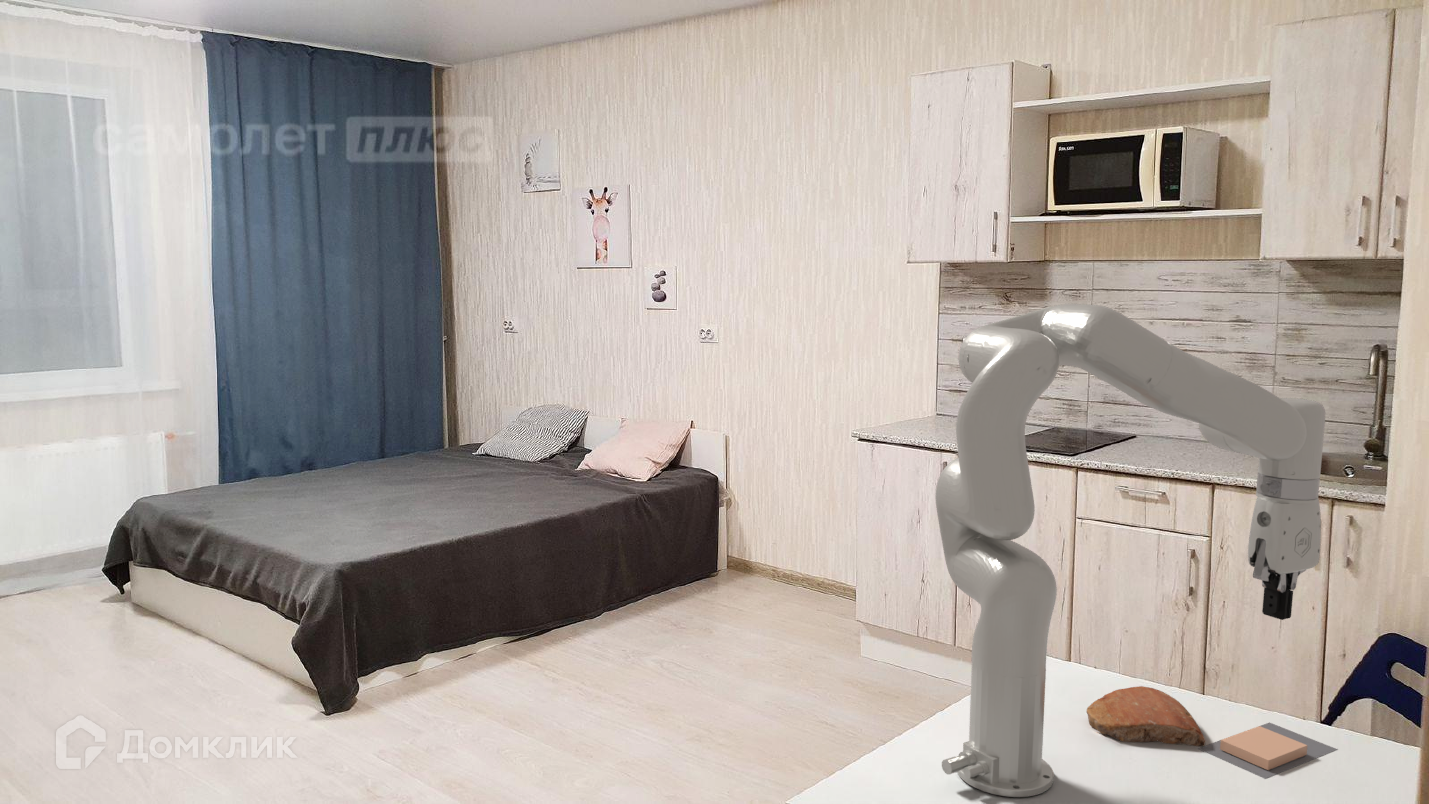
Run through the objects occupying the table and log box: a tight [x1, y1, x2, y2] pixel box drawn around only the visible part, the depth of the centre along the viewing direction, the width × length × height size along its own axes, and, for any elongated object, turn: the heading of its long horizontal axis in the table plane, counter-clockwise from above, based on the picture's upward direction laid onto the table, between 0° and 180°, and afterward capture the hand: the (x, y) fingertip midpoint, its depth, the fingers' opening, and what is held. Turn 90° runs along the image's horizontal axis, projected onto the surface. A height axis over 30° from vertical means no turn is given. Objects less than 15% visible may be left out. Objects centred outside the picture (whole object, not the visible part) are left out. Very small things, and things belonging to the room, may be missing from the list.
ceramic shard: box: [1086, 685, 1206, 747], centre depth 153 cm, size 15×6×15 cm
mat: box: [1197, 722, 1339, 780], centre depth 145 cm, size 17×10×1 cm, turn 120°
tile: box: [1220, 725, 1307, 770], centre depth 143 cm, size 2×7×9 cm
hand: (1276, 616), depth 144 cm, fingers closed
